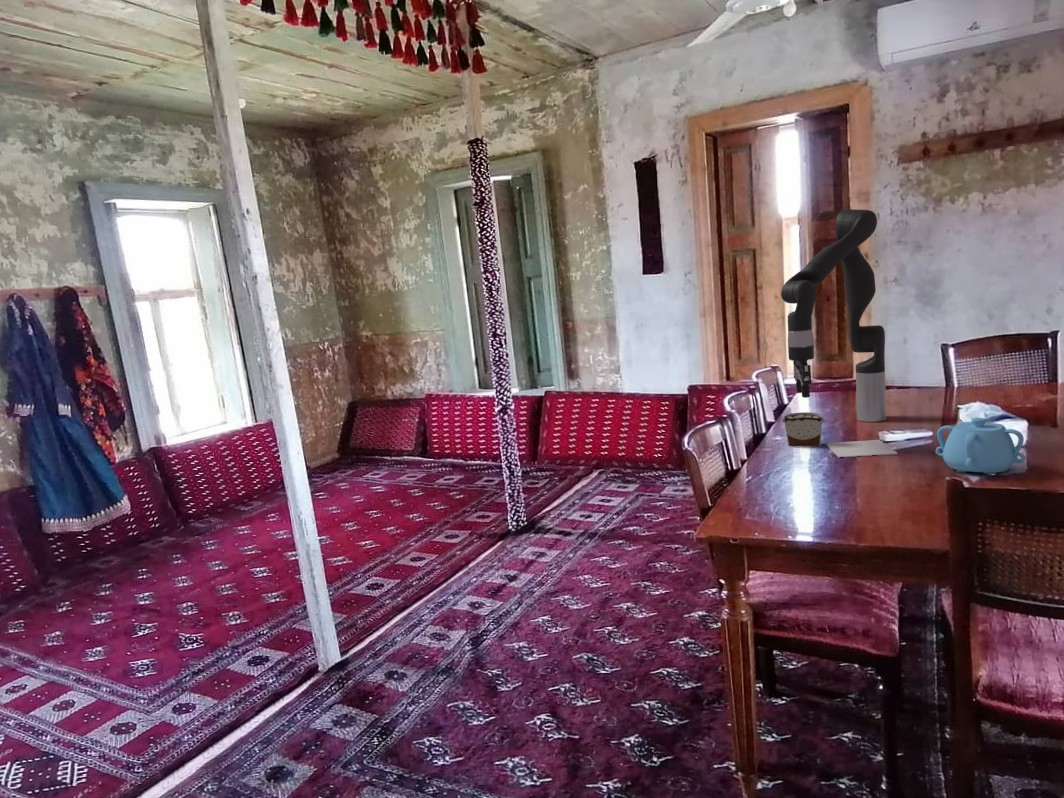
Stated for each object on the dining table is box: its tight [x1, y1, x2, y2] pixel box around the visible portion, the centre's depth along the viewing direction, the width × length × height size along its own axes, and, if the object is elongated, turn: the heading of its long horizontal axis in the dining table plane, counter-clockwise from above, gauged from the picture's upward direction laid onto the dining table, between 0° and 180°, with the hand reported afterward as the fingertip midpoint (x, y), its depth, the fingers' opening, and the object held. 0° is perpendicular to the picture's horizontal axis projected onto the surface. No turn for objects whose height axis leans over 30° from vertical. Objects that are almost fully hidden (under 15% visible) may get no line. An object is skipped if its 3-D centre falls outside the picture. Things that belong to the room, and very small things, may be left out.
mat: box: [825, 439, 898, 459], centre depth 206 cm, size 16×16×1 cm
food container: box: [782, 411, 825, 447], centre depth 218 cm, size 12×6×10 cm, turn 65°
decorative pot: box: [935, 417, 1026, 476], centre depth 176 cm, size 16×16×14 cm
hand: (803, 394), depth 216 cm, fingers open, 8 cm apart
